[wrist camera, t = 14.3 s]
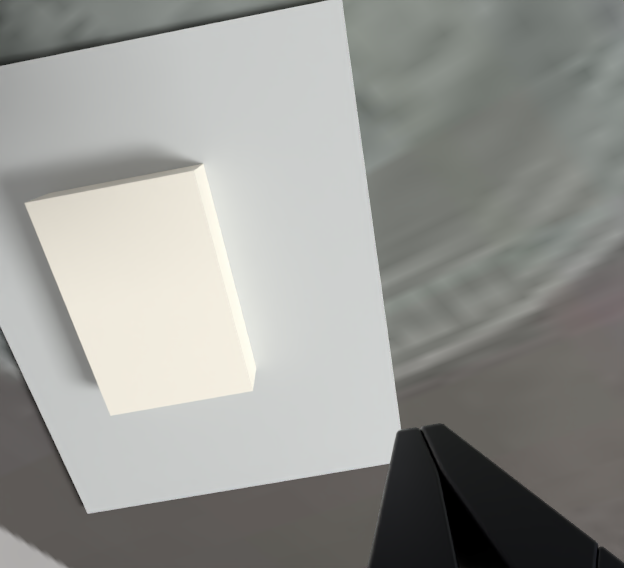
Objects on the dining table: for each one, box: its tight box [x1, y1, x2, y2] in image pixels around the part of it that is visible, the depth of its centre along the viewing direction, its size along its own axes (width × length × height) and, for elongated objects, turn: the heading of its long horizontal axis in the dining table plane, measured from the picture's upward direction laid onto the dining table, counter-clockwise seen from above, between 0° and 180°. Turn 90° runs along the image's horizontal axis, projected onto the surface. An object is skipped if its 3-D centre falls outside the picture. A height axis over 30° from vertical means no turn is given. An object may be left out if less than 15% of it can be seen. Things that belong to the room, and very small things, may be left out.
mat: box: [0, 0, 401, 514], centre depth 20 cm, size 20×16×1 cm
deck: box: [25, 164, 256, 416], centre depth 19 cm, size 9×2×6 cm
